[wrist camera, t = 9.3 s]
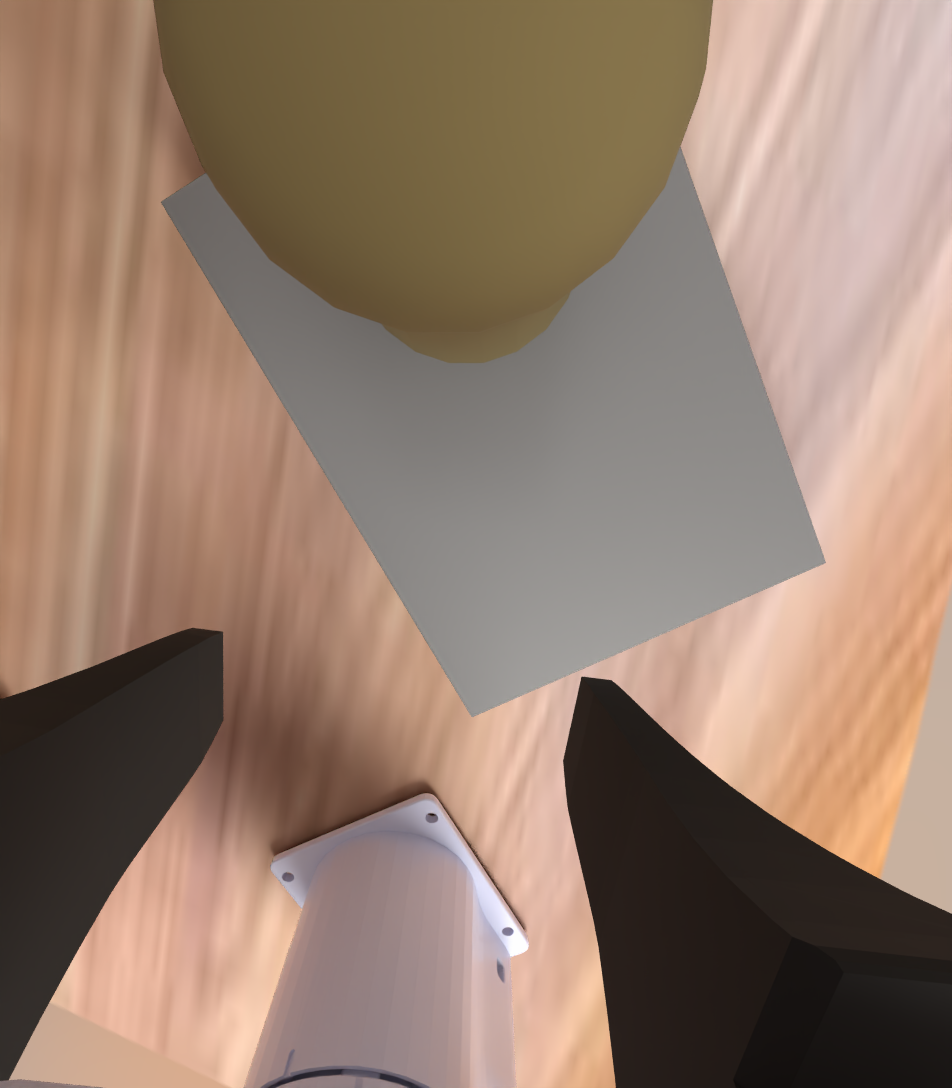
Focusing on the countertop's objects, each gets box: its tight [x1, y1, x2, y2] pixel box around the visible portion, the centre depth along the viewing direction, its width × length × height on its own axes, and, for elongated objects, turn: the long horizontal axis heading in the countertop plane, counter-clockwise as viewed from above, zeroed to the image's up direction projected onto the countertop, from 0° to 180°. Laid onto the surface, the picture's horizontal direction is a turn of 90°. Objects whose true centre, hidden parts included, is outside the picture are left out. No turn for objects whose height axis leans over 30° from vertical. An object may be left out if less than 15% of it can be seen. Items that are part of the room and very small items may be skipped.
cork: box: [153, 0, 713, 363], centre depth 9 cm, size 6×6×11 cm
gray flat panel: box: [161, 147, 826, 717], centre depth 17 cm, size 17×12×3 cm
